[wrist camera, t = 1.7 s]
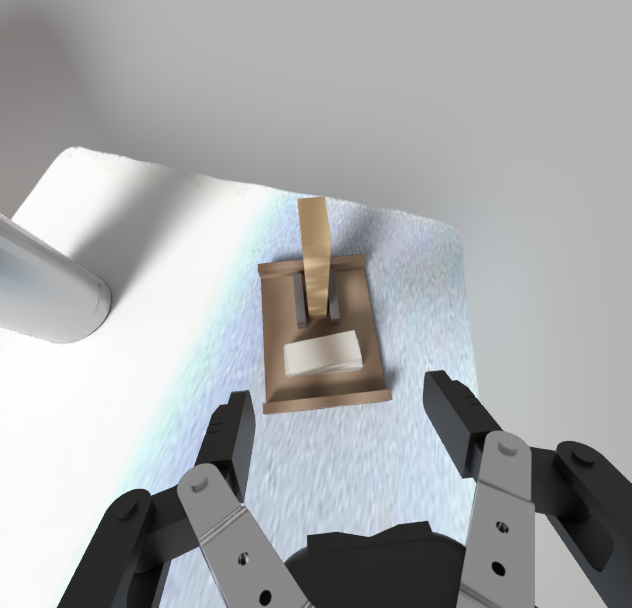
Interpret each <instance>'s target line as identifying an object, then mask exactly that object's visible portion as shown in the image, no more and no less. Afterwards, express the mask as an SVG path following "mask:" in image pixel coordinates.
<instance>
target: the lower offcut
mask: <svg viewBox="0 0 632 608" xmlns="http://www.w3.org/2000/svg"><path fill="white" fill-rule="evenodd" d="M357 342H358V345H359V339H357ZM359 349H360V345H359ZM360 353H361V352H360ZM284 359H285V374H286V376H287V378H294V377H303V376H313V375H322V374H331V373H340V372H350V371H359V370H361V368H362V367H363V364H362V358H361V360H360V361H359V362H358V363H353V364H349V365H344V366H340V367H335V368H330V369H326V370H321V371H316V372H312V373H307V374H303V375H298V376H293V377H292V376H291V374H290V370H289V365H288V359H287V353H286V348H285V346H284Z"/></svg>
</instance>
